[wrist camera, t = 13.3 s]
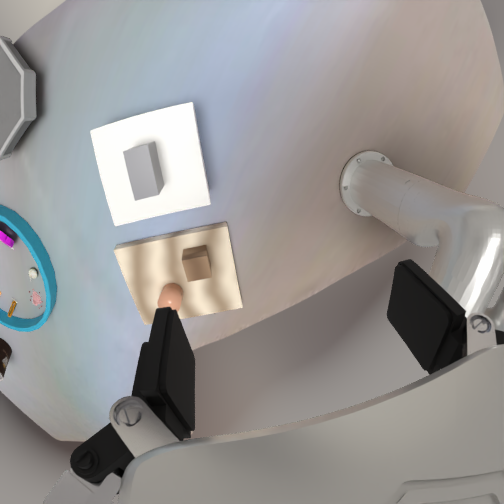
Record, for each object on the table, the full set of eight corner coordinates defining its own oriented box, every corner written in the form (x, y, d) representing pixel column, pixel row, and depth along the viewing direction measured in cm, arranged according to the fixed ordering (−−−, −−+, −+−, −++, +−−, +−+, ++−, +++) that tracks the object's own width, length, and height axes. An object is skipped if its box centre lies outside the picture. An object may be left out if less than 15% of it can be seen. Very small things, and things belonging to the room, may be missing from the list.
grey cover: (194, 105, 37) (190, 98, 26) (209, 190, 44) (212, 217, 32) (108, 128, 36) (74, 133, 25) (128, 208, 43) (104, 241, 31)
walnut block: (206, 244, 46) (206, 255, 42) (210, 265, 48) (212, 277, 44) (182, 249, 46) (181, 260, 42) (188, 269, 47) (187, 282, 44)
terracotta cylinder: (182, 303, 50) (179, 316, 46) (161, 300, 49) (157, 312, 46) (184, 285, 48) (181, 296, 45) (162, 281, 48) (157, 292, 44)
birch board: (226, 221, 47) (227, 226, 45) (241, 301, 55) (242, 307, 53) (116, 245, 45) (113, 250, 43) (146, 318, 53) (144, 324, 51)
